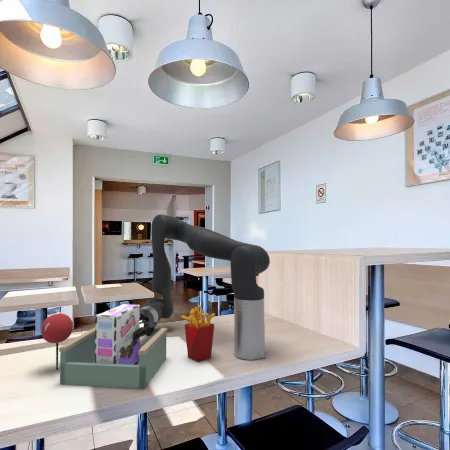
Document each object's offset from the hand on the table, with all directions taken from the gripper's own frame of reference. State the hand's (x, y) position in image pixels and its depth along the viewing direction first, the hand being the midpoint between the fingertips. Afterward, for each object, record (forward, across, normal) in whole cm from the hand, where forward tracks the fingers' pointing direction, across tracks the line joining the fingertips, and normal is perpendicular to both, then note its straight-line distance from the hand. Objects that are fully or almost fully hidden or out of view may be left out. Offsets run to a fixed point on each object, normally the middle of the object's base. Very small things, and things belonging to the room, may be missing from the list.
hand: (121, 336), depth 87 cm
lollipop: (+3, -17, +9) cm, 19 cm away
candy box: (+2, 0, +9) cm, 9 cm away
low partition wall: (+2, 0, +8) cm, 9 cm away
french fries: (-9, +19, +9) cm, 23 cm away
